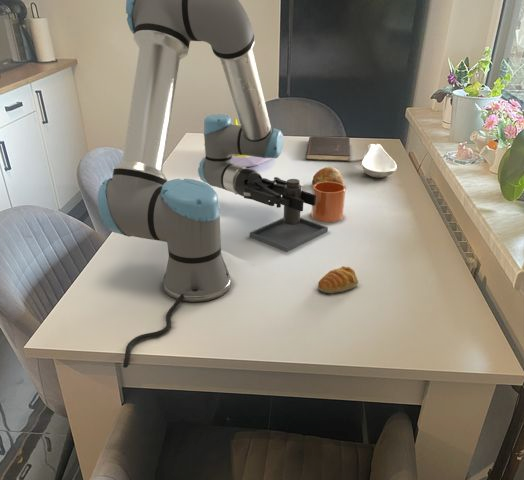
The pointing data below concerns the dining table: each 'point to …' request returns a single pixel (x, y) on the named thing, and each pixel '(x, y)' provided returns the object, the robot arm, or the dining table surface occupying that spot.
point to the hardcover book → (328, 149)
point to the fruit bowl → (247, 158)
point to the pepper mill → (295, 191)
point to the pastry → (338, 280)
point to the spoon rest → (378, 162)
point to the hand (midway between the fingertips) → (308, 203)
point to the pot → (328, 201)
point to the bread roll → (327, 176)
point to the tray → (288, 233)
